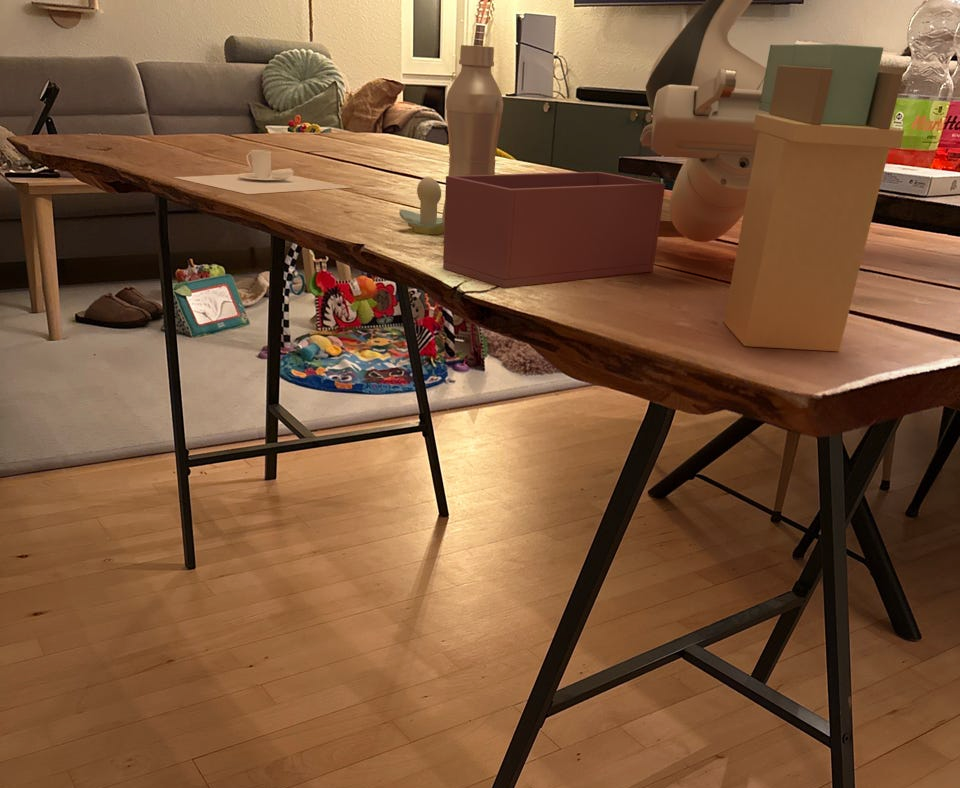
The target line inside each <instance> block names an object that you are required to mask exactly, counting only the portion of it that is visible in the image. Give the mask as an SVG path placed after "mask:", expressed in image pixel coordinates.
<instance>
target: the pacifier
mask: <svg viewBox="0 0 960 788" xmlns="http://www.w3.org/2000/svg"><path fill="white" fill-rule="evenodd" d="M416 193H417V194H416V195H417V198H418V200H419V201H420V206H419V213H416V212H414V211H411V210H406V209H403V208H402V209H399V212H398V213H399V217H400V218H401V219H402V220H403V221H405V222H407V226H408V228H410V229H411V228H412V229H413V230H414V232H415V233H418V234H423V235H441V234H444V230H443V221H442V217H438V204H439V202H440V201H441V198H442V189H441V186H440V184H439V183H438V181H436V179H434V178H432V177H424V178H421V180H420V181H419V182H418V184H417V189H416Z"/></svg>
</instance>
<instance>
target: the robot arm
mask: <svg viewBox="0 0 960 788" xmlns="http://www.w3.org/2000/svg"><path fill="white" fill-rule="evenodd" d="M753 1H754V0H705V1H704V2H703V3H702V5H701V6H700V7H699V9H698V10H697V11H696V12H695V13H694V15H693V16H692V17H691V19H690V20H689V21H688V22H687V24H686V25H685V26H684V27H683V28H682V29H681V30H680V31H679V32H678V33H677V34H676V35H675V36H674V37H673V38H672V39H671V40H670V41H669V42H668V43H667V45H666V46H664V48H663V49H662V51H661V52H660V54H659V55H658V57H657V58H656V59H655V62H654V64H653V65H652V67H651V70H650V73H649V76H648V78H647V81H646V84H645V94H646V98H647V99H646V100H647V103H648V106H649V110H650V113H651V115H652V120H651V121H652V122H651V123H649V124H647V125H646V126H644V128H643V130H642V133H641V135H640V138H639V141H640V145H641V146H642V147H647V148H651V151H652V152H654V153H655V154H657V155H659V156H662V157H671V158H686V160H685V161H684V162H683V164H682V165H681V167H680V170H679V172H678V173H677V176H676V178H675V181H674V184H673V187H672V191H671V194H670V198H669V200H670V205H669V212H670V217H671V220H672V223H673V225H674V226H675V228H676V229H677V230H678V232H680V233H681V234H682V235H683V236H682V237H685V238H686V239H688V240H690V241H693V242H698V243H707V242H713V241H715V240H717V239H719V238H721V237H723V236H724V234H726V233H727V232H729V231H730V230H731V229H732V228H733V227H734V226H735V225H736V224H737V223H738V222H739V221H740V220H741V218H743V215H744V210H745V204H746V199H747V193H748V188H749V182H750V177H751V171H752V166H753V160H754V155H755V149H756V144H757V139H758V133H759V131H756V130H753V127H754V121H755V116H756V114H769V112H766V111H762V110H759V105H760V100H761V94H762V89H763V83H764V78H765V72H766V66H764V65H762V64H760V63H759V62H757V61H755V60H754V59H752V58H751V57H750V56H748V55H747V54H745V53H743V52H742V51H740V50H739V49H737V48H736V47H734V46H733V45H732V44H731V43H730V42H729V38H728V37H729V36H728V35H729V32H730V30H731V29H732V28H733V26H734V25H735V24H736V23H737V22H738V20H740V18H741V17H742V15H743V14H744V13H745V11H746V10H747V9H748V7H749V6H750V5H751V3H752V2H753Z"/></svg>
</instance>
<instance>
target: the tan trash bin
mask: <svg viewBox="0 0 960 788" xmlns="http://www.w3.org/2000/svg"><path fill="white" fill-rule="evenodd" d="M832 73H833V69H830V68H814V67H797V66H781V65H779V66H778V69H777V74H776V80H775V85H774V90H773V96H772V101H771V106H770V112H769V114H756V116H755V121H754V127H753V130H756V131H759V133H758V139H757V144H756V149H755V155H754V160H753V166H752V171H751V177H750V182H749V188H748V193H747V199H746V204H745V210H744V215H743V216H742V221H741V226H740V233H739V237H738V242H737V243H738V244H737V249H736V254H735V259H734V264H733V270H732V275H731V281H730V287H729V292H728V297H727V301H726V302H727V303H726V308H725V314H724V320H723V324H724V325H725V326H726V327H727V328H728V330H730V331H731V333H732V334H733V335H734V336H735V338H736V339H737V340H738V341H739V342H740V343H741V344H742V346H743V347H748V348H749V347H750V348H751V347H752V348H753V347H754V348H768V349H786V350H787V349H788V350H804V351H805V350H806V351H821V352H840V351H841V350H840V349H841V345H842V341H843V337H844V333H845V329H846V325H847V321H848V317H849V313H850V309H851V306H852V301H853V297H854V294H855V293H854V292H855V289H856V285H857V281H858V277H859V273H860V269H861V265H862V260H863V256H864V252H865V249H866V245H867V241H868V236H869V233H870V229H871V224H872V221H873V217H874V212H875V208H876V204H877V201H878V197H879V193H880V188H881V184H882V180H883V176H884V172H885V168H886V164H887V160H888V155H889V152H890V149H900V148H901V146H902V142H903V138H904V133H905V130H904V129H901V128H897V127H896V128H895V127H891V125H892V121H893V118H894V113H895V108H896V105H897V101H898V97H899V94H900V93H899V92H900V88H901V85H902V80H903V76H904V73H903V72H890V71H878V74H877V78H876V83H875V87H874V91H873V95H872V100H871V104H870V108H869V113H868V117H867V121H866V125H865V126H853V125H837V124H822V120H823V115H824V110H825V106H826V101H827V96H828V91H829V87H830V82H831V77H832Z"/></svg>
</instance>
